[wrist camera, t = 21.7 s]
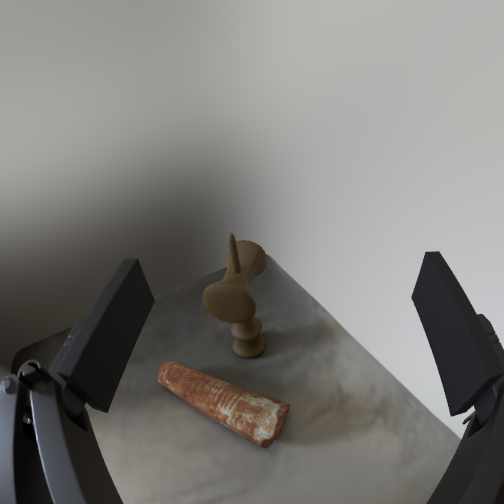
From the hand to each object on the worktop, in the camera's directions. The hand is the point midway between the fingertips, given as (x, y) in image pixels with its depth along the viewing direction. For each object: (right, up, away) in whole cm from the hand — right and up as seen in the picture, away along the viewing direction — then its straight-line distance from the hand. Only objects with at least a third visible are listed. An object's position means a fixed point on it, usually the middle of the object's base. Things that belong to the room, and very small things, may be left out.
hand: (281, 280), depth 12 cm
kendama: (-2, -13, +30) cm, 32 cm away
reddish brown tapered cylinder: (-6, -20, +21) cm, 29 cm away
